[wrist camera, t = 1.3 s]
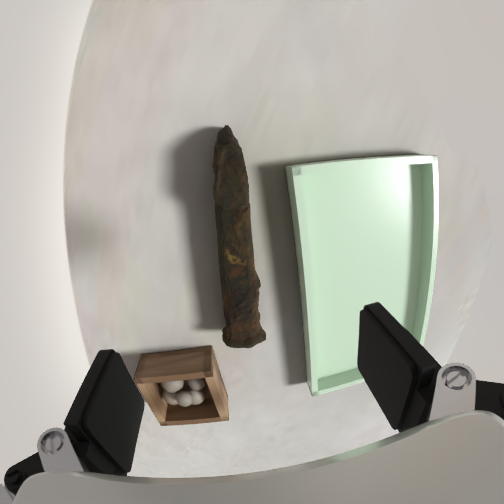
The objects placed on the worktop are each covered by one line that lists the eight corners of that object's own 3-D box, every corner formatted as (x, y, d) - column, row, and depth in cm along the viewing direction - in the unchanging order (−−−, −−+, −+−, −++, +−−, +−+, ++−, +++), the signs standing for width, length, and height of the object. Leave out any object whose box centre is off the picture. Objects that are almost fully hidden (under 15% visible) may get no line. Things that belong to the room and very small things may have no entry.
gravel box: (141, 354, 28) (132, 380, 24) (211, 345, 29) (211, 372, 25) (164, 401, 31) (160, 427, 27) (227, 395, 31) (229, 422, 27)
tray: (284, 166, 24) (291, 167, 21) (421, 154, 24) (436, 155, 22) (307, 382, 32) (312, 396, 30) (410, 350, 33) (419, 360, 30)
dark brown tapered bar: (262, 325, 29) (268, 353, 24) (222, 328, 29) (223, 357, 24) (259, 127, 23) (267, 121, 18) (211, 129, 22) (209, 122, 18)
